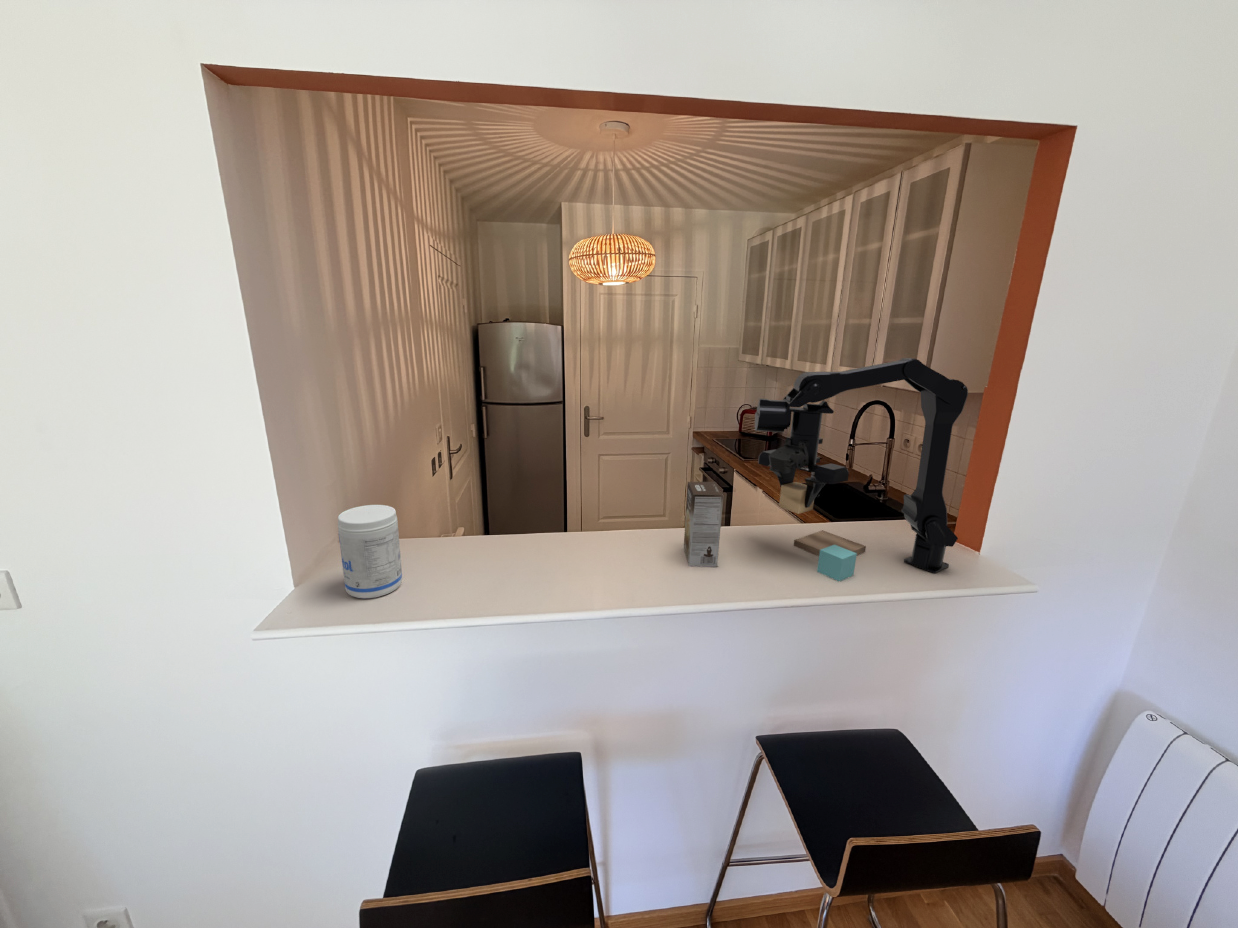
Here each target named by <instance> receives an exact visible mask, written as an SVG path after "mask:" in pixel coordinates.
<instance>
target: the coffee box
mask: <svg viewBox="0 0 1238 928" xmlns="http://www.w3.org/2000/svg"><path fill="white" fill-rule="evenodd" d="M686 488H687V490H686V501H685V502H686V503H685V505H686V506H685V518H684V519H685V520H684V522H685V523H684V533H683V535H684V536H683V550H684V553H685V558H686V561H687V564H688V566H689V567H699V568H700V567H702V568H703V567H704V568H705V567H711V568H712V567H713V568H717V567H718V561H719V551H720V550H719V549H720V539H721V528H722V518H723V507H724V505H723V504H724V494H723V491H721V489H720V487H719V485H718V483H717V482H716V481H687V487H686Z"/></svg>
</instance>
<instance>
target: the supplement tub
mask: <svg viewBox="0 0 1238 928" xmlns="http://www.w3.org/2000/svg"><path fill="white" fill-rule="evenodd" d="M398 523H399V522H398V516H397V511H396V509H395V508H394V507H392V506H390V505H386V504H385V505H384V504H367V505H361V506H356V507H351V508H349V509H346V510H344V511H343V512H341V513H340V514H339V515H338V517H337V530H338V539H339V547H340V549H339V550H340V556H341V564H342V572H343V581H344V588H345V591H346V593H347V594H348V595H349V596H351V597H353V598H356V599H357V598H358V599H375V598H380V597H383V596H385V595H387V594H390V593H391V592H394V591H396V590H397V589H398V588H399V587H400V586H401V584H402V581H403V570H402V559H401V546H400V535H399V534H400V533H399V524H398Z"/></svg>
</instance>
